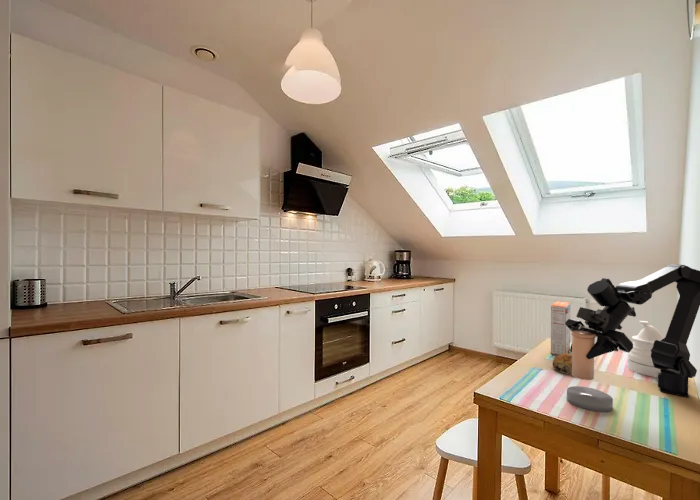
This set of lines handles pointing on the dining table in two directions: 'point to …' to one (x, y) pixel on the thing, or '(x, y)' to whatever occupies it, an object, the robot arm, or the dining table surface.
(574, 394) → the round gray base plate
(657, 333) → the honey pot
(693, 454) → the dining table surface
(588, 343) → the tan cylindrical canister
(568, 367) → the bread roll
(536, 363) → the dining table surface
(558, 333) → the cracker box
